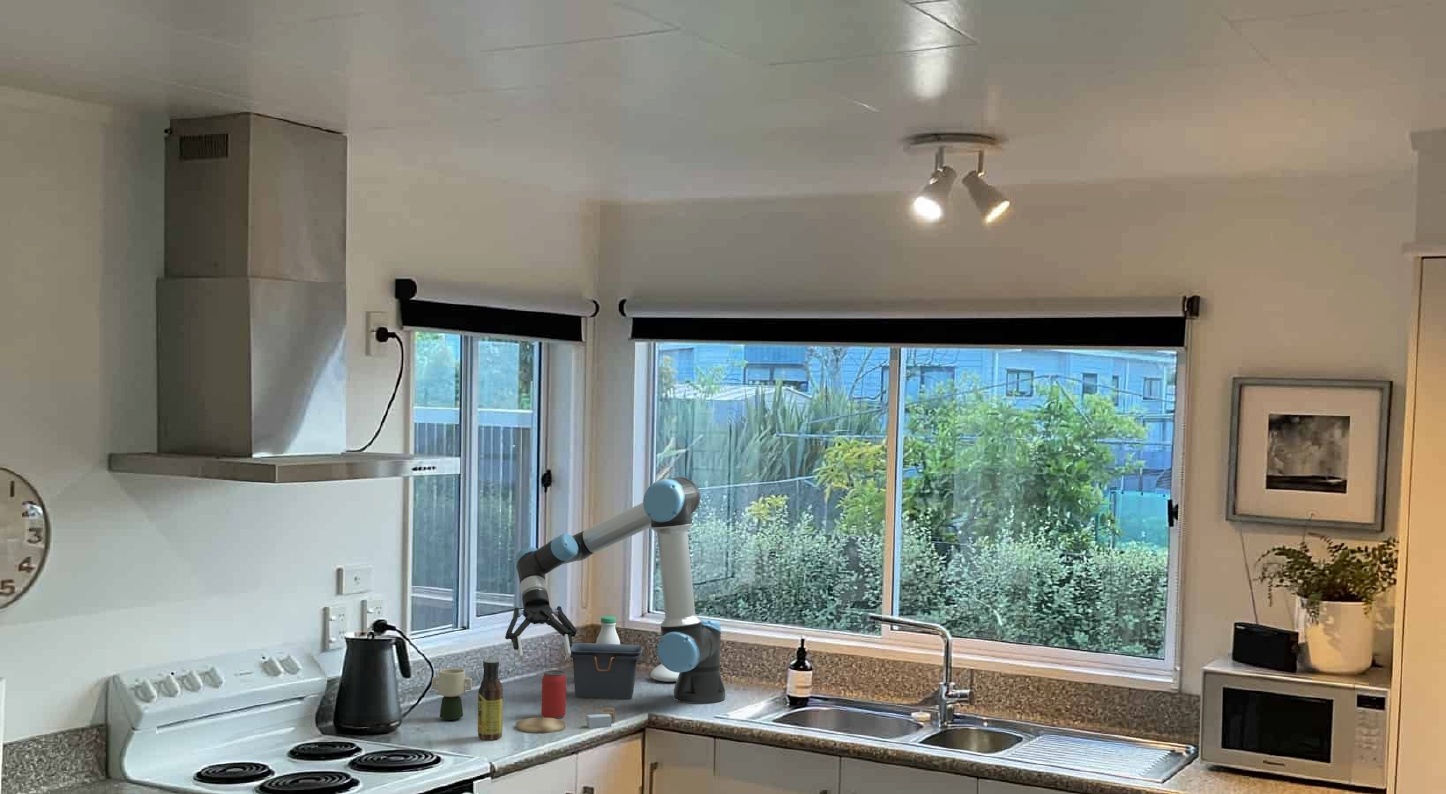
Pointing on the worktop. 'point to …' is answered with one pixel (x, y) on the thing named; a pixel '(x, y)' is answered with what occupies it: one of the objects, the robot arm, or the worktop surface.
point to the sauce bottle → (490, 702)
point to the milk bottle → (608, 631)
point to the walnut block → (610, 712)
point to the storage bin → (604, 670)
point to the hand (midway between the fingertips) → (545, 657)
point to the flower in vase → (664, 674)
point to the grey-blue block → (599, 720)
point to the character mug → (451, 691)
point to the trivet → (540, 725)
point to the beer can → (553, 694)
